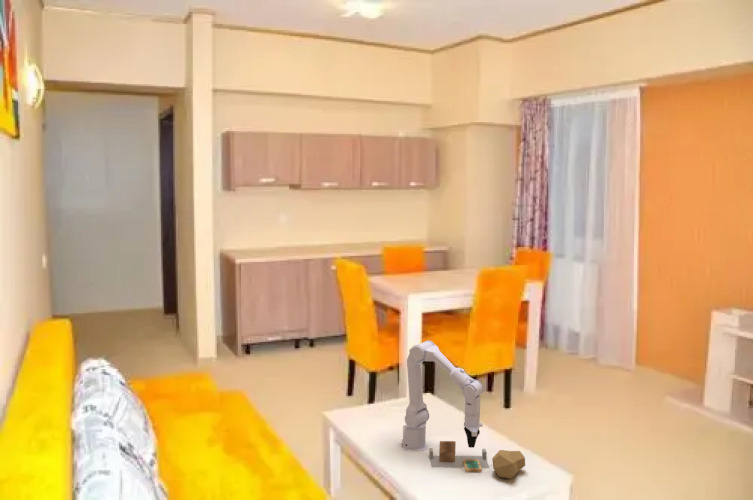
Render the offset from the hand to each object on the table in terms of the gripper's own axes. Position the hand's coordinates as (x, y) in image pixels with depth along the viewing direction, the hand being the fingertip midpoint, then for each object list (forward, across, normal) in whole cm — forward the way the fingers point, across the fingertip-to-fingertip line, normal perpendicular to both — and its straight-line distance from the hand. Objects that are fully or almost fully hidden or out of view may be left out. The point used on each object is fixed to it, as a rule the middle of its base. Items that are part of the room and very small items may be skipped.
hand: (471, 446), depth 249 cm
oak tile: (+6, 0, 0) cm, 6 cm away
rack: (+7, +1, +4) cm, 8 cm away
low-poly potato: (+7, -9, -13) cm, 17 cm away
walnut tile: (+6, +1, +9) cm, 11 cm away
